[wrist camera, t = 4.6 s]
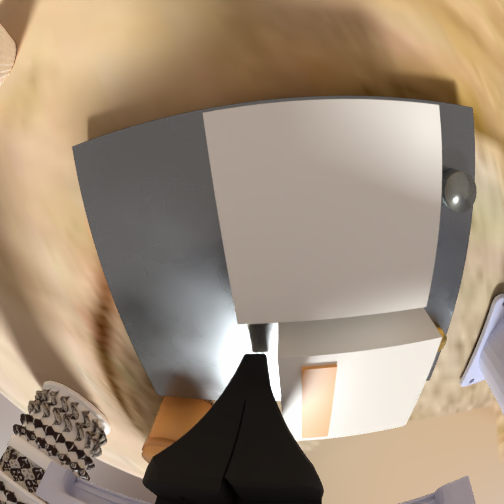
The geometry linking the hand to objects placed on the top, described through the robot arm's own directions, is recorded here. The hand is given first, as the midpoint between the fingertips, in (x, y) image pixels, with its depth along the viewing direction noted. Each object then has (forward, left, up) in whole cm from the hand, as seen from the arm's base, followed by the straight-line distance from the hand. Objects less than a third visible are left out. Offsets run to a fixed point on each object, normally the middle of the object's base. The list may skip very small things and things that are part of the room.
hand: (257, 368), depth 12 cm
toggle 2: (-4, 0, -1) cm, 4 cm away
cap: (+6, +7, -2) cm, 9 cm away
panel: (-2, -3, -2) cm, 4 cm away
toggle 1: (-3, -7, -1) cm, 8 cm away
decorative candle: (+20, +11, -2) cm, 23 cm away
